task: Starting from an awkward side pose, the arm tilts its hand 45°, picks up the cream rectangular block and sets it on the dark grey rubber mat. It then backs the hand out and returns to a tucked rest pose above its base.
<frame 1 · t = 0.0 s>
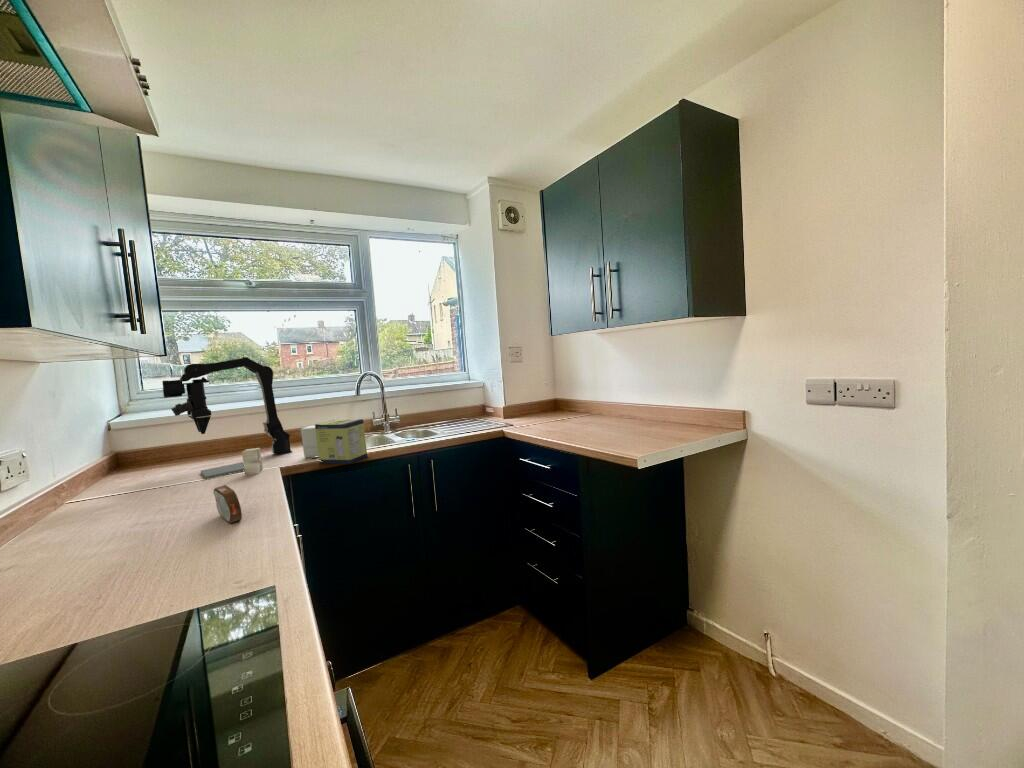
hand: (201, 432, 174), 15 cm above the table, tool pointing down, fingers open, 9 cm apart
protein box: (343, 460, 170), on the table
tin: (229, 519, 113), on the table
rubber mat: (225, 471, 167), on the table
cream rectangular block: (254, 473, 160), on the table
supplement box: (316, 456, 183), on the table
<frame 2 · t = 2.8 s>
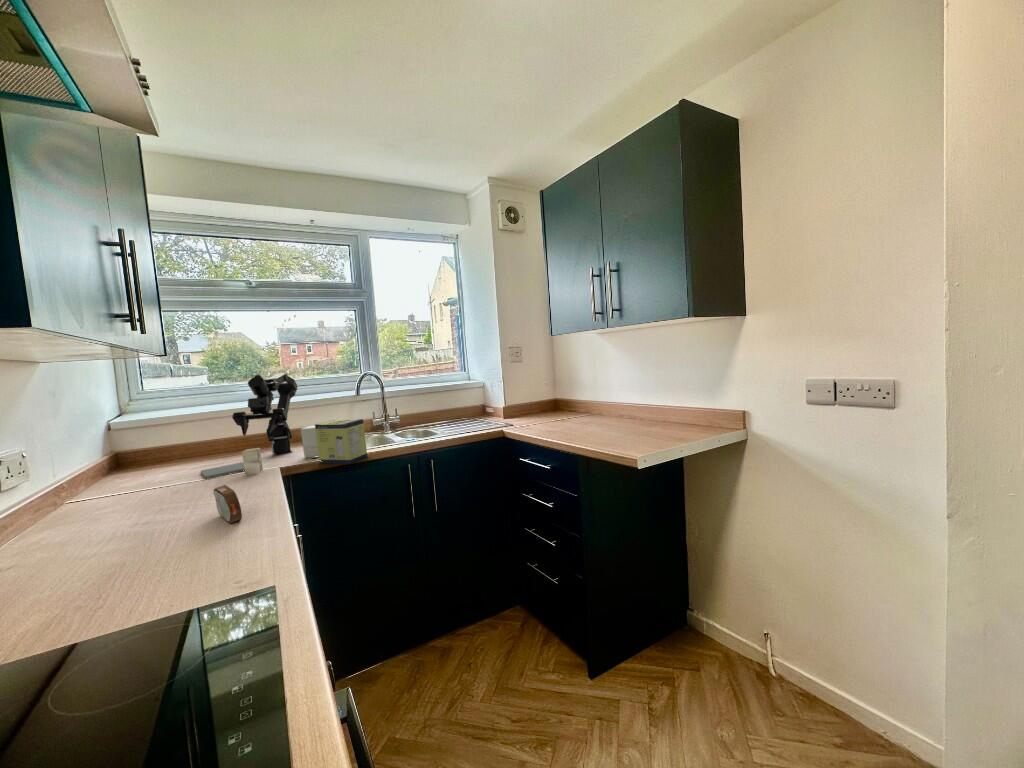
hand: (256, 433, 168), 13 cm above the table, tool tilted 45°, fingers open, 9 cm apart
nothing on the table moved.
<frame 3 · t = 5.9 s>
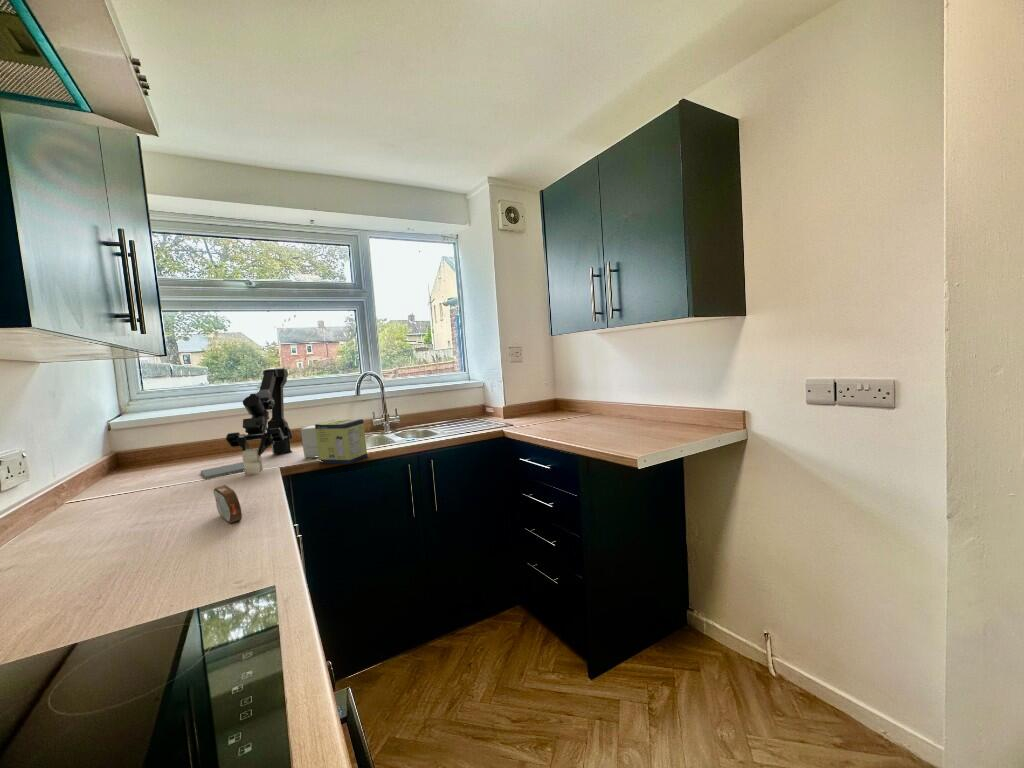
hand: (252, 455, 160), 7 cm above the table, tool tilted 45°, fingers closed on cream rectangular block, 4 cm apart
cream rectangular block: (254, 473, 160), on the table, touching gripper
everything else where it was.
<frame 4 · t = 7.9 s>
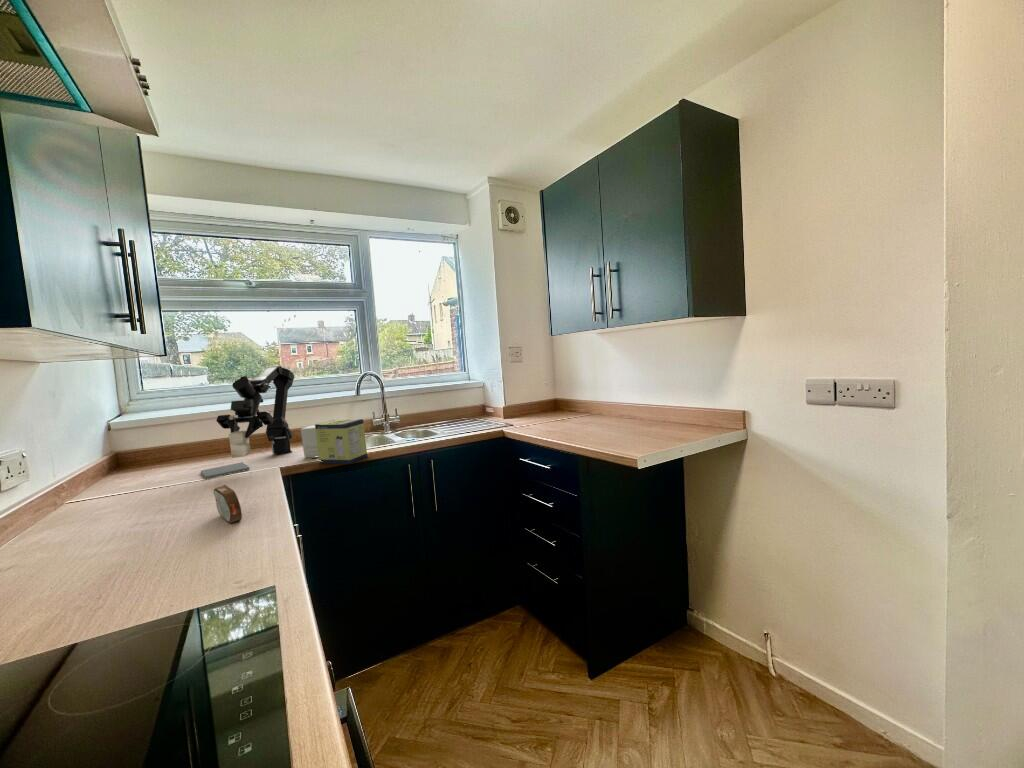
hand: (239, 438, 160), 13 cm above the table, tool tilted 45°, fingers closed on cream rectangular block, 4 cm apart
cream rectangular block: (241, 455, 161), point 7 cm above the table, touching gripper
everything else where it was.
when the fingers open (8 cm above the table, at t = 10.4 s): cream rectangular block stays where it is, resting on rubber mat.
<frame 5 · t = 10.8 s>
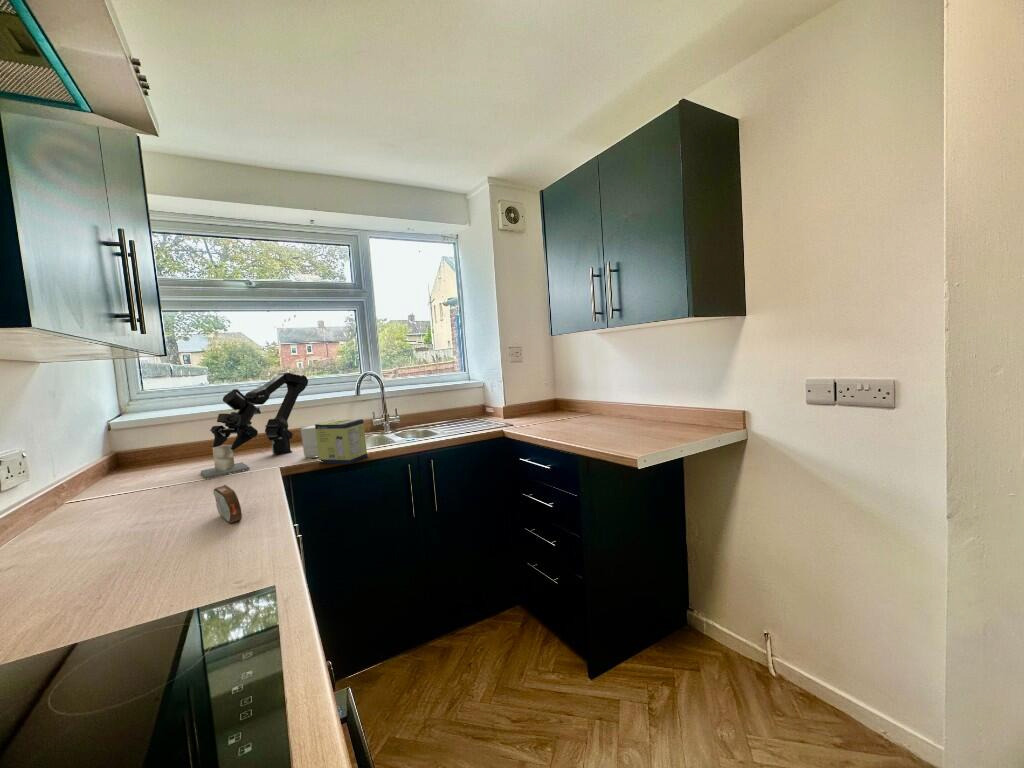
hand: (222, 449, 166), 9 cm above the table, tool tilted 45°, fingers open, 9 cm apart
cream rectangular block: (225, 468, 167), point 1 cm above the table, touching rubber mat
everything else where it was.
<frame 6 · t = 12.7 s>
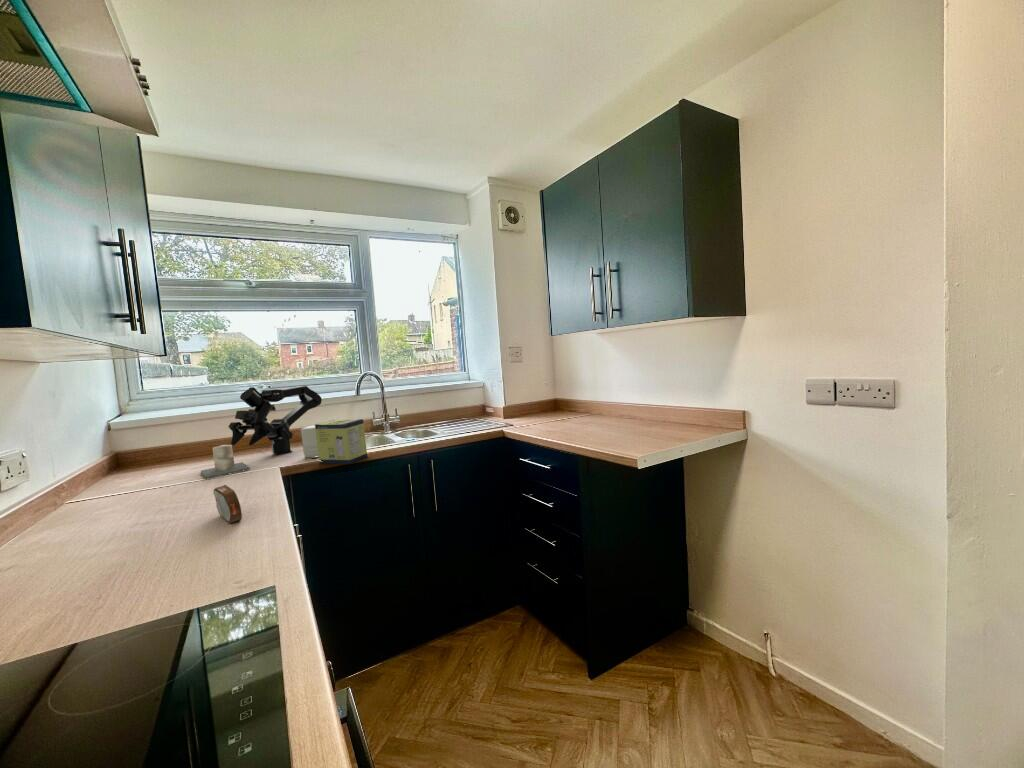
hand: (240, 445, 174), 8 cm above the table, tool tilted 45°, fingers open, 9 cm apart
nothing on the table moved.
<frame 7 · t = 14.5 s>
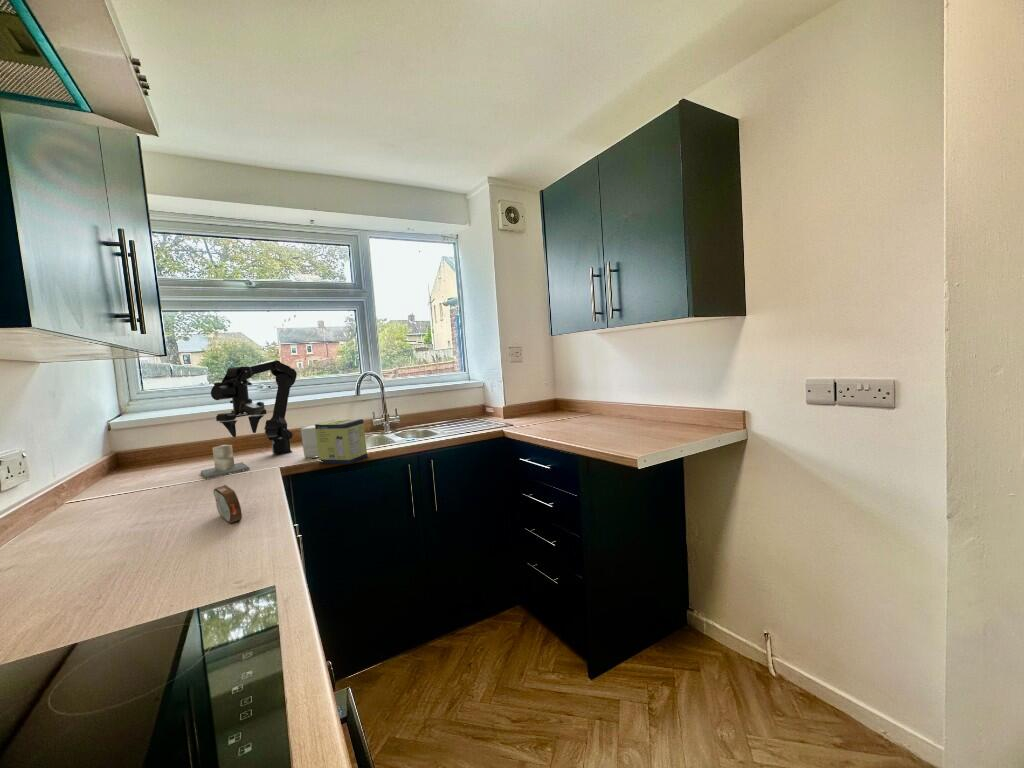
hand: (244, 435, 176), 12 cm above the table, tool pointing down, fingers open, 9 cm apart
nothing on the table moved.
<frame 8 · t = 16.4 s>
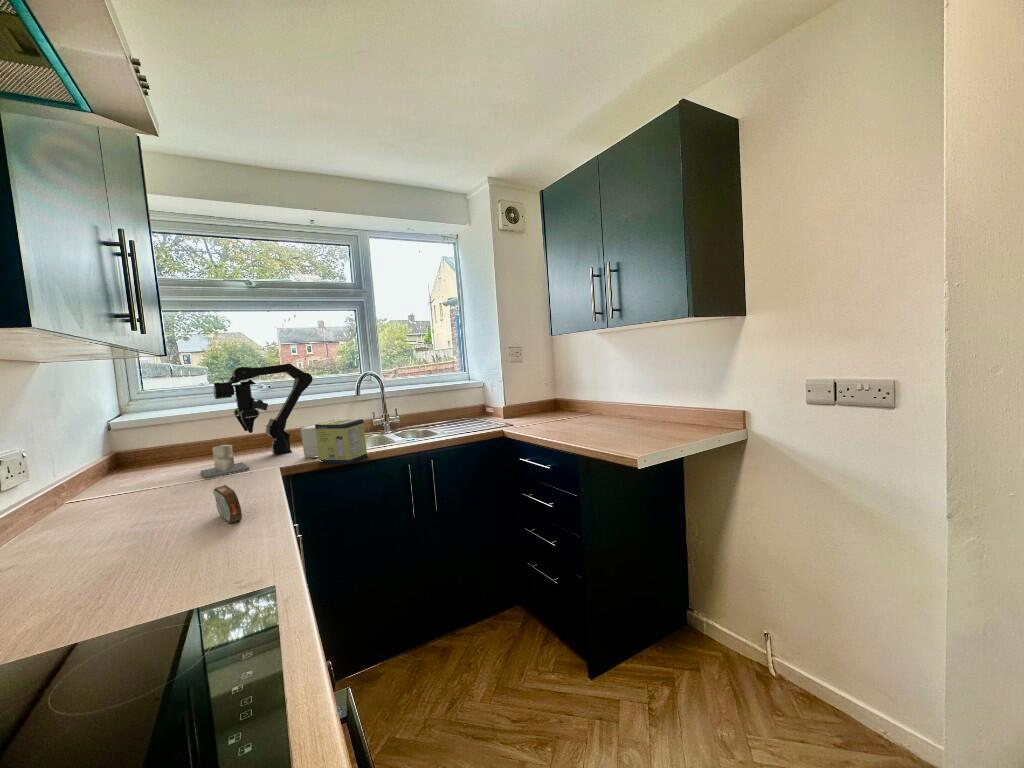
hand: (248, 431, 185), 12 cm above the table, tool pointing down, fingers open, 9 cm apart
nothing on the table moved.
at the end: cream rectangular block inside the target area on the rubber mat (0.1 cm from its centre), point 1.0 cm above the rubber mat's base; cream rectangular block tilted 0°; the gripper is holding nothing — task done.
